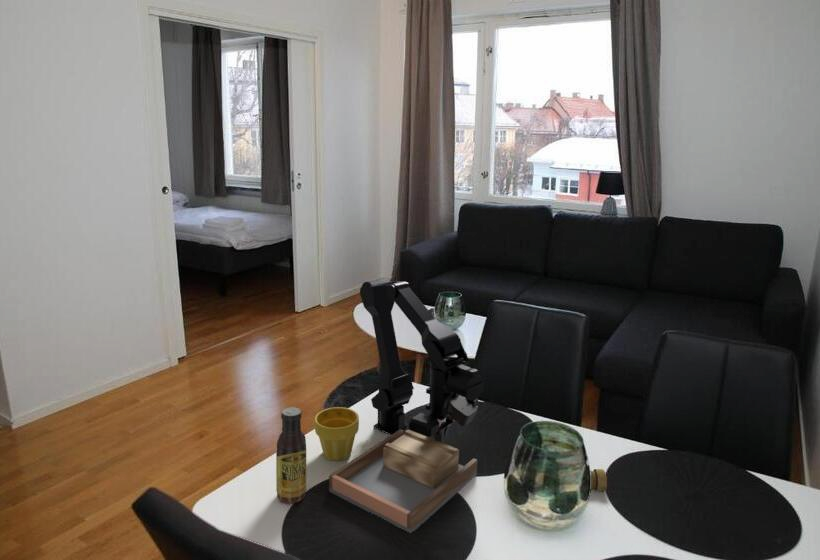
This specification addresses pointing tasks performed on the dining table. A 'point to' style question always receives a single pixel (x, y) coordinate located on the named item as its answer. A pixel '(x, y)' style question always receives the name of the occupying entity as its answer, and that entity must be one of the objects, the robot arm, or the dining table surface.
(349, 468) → the bay
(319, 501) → the dining table surface
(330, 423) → the plant pot
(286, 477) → the sauce bottle
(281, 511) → the dining table surface
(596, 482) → the gavel
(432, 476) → the brown wooden box
